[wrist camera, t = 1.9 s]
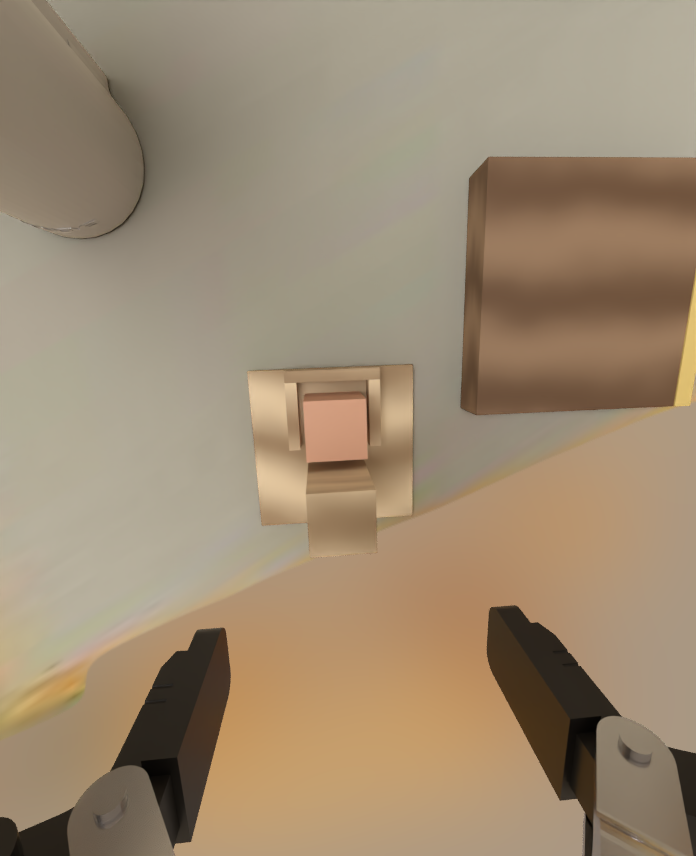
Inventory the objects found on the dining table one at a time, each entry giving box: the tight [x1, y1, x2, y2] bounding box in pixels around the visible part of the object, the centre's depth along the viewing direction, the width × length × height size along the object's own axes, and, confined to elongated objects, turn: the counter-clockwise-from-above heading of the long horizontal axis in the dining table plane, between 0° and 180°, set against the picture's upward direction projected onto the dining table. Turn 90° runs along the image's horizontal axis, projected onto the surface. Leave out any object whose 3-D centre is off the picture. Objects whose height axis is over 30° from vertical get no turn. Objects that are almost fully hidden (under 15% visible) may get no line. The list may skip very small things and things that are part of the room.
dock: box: [461, 157, 696, 415], centre depth 27 cm, size 16×16×3 cm
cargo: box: [303, 391, 368, 463], centre depth 26 cm, size 4×4×4 cm
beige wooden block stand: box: [247, 364, 413, 558], centre depth 25 cm, size 12×12×9 cm
